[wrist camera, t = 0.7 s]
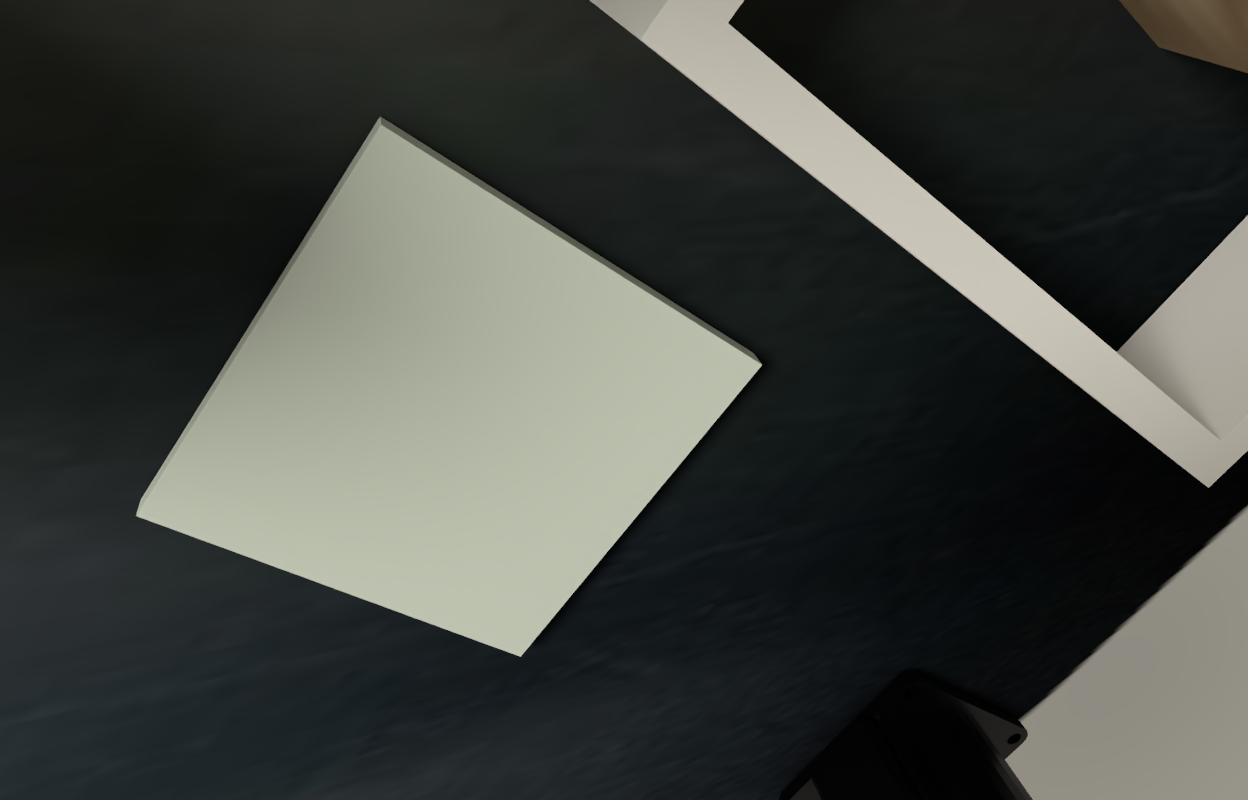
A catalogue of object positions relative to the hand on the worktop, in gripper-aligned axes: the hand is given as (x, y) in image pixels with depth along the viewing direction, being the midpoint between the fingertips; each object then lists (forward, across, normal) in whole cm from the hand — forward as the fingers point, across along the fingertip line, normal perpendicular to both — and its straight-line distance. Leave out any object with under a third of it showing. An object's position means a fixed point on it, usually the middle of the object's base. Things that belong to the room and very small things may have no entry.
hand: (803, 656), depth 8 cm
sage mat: (+14, +3, +5) cm, 15 cm away
